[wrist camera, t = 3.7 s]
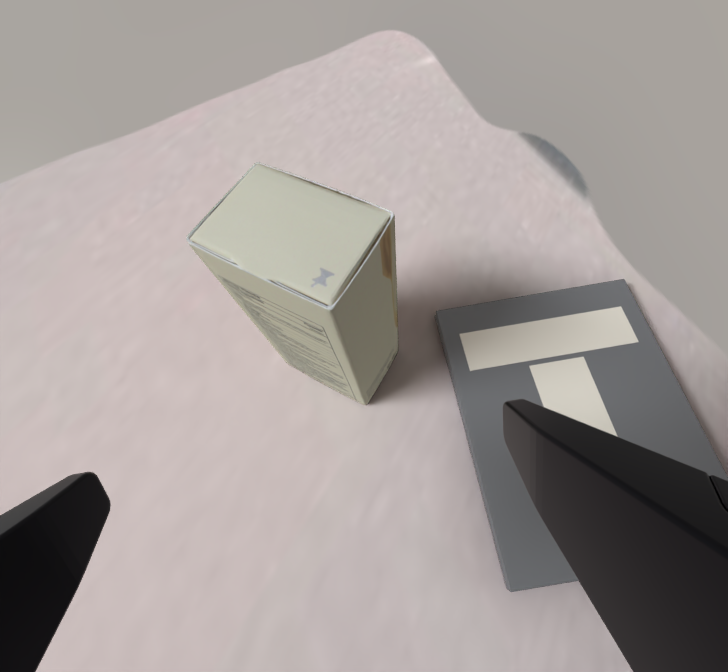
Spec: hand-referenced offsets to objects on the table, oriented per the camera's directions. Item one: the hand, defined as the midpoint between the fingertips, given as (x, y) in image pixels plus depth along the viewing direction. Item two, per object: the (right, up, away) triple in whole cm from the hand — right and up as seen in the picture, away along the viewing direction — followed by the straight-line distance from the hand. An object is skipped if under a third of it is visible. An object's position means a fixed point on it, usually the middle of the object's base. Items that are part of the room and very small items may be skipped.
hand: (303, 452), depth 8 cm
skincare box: (0, +1, +16) cm, 16 cm away
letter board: (+13, -2, +13) cm, 18 cm away
